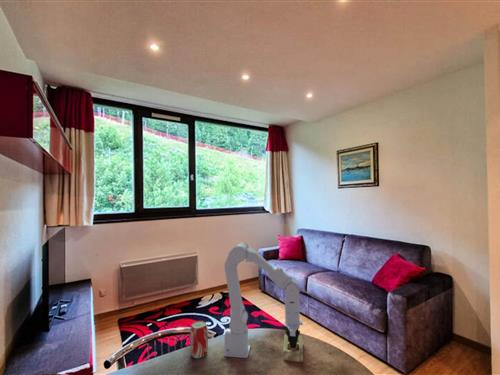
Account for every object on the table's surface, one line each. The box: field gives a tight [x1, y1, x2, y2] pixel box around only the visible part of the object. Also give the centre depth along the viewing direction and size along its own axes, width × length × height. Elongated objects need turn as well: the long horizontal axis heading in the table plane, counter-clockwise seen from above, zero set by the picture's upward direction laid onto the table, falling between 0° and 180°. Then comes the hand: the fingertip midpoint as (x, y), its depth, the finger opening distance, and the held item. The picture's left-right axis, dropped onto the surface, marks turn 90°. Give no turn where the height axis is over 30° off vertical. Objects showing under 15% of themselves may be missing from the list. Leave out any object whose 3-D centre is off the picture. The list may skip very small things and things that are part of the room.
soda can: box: [189, 320, 209, 359], centre depth 102 cm, size 7×7×12 cm
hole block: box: [283, 333, 304, 363], centre depth 102 cm, size 8×12×4 cm, turn 171°
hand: (293, 345), depth 100 cm, fingers closed on peg, 3 cm apart
